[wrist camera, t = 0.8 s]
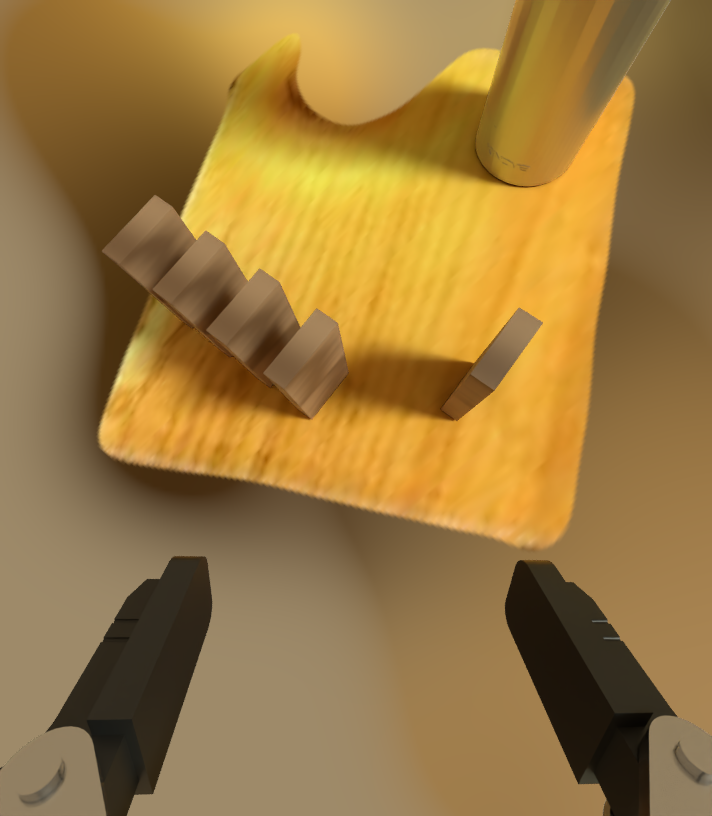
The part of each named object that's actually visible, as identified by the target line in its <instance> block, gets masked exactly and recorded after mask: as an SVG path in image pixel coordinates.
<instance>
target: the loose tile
mask: <svg viewBox="0 0 712 816" xmlns="http://www.w3.org/2000/svg"><path fill="white" fill-rule="evenodd" d="M542 324H543V322H541V321H540V320H538V319H536V318H535V317H533V316H532V315H530V314H529V313H527V312H525V311H524V310H522V309H521V308H518V310H517V311H516V312H515V313H514V315H513V316H512V317H511V318H510V319H509V321H508V322H507V323H506V324H505V326H504V327H503V328H502V329H501V331H500V332H499V333H498V334H497V336H496V337H495V338H494V339H493V341H492V342H491V343H490V344H489V346H488V347H487V348H486V349H485V351H484V352H483V353H482V354H481V355H480V357H479V358H478V359H477V360H476V362H475V363H474V364H473V366H472V367H471V368H470V370H469V371H468V373H467V374H466V375H465V377H464V378H463V379H462V381H461V382H460V383H459V385H458V386H457V387H456V389H455V390H454V392H453V393H452V394H451V396H450V397H449V398H448V400H447V401H446V402H445V404H444V405H443V407H442V408H441V410H442V411H444V412H445V413H446V414H448V415H449V416H451V417H452V418H453V419H455V420H456V421H457V420H459V419H460V418H461V417H462V416H464V415H465V414H466V413H467V412H469V411H470V410H471V409H472V408H474V407H475V406H476V405H477V404H478V403H480V402H481V401H482V400H483V399H485V398H486V397H487V396H488V395H490V394H491V393H492V392H493V391H495V389H496V388H497V386H498V385H499V384H500V382H501V381H502V379H503V378H504V377H505V375H506V374H507V372H508V371H509V370H510V368H511V367H512V365H513V364H514V363H515V361H516V360H517V358H518V357H519V356H520V354H521V353H522V352H523V350H524V349H525V347H526V346H527V345H528V343H529V342H530V340H531V339H532V338H533V336H534V335H535V333H536V332H537V331H538V329H539V328H540V326H541V325H542Z"/></svg>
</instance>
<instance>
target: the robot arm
mask: <svg viewBox="0 0 712 816" xmlns="http://www.w3.org/2000/svg"><path fill="white" fill-rule="evenodd" d="M669 2H670V0H516V1H515V4H514V7H513V11H512V14H511V18H510V21H509V25H508V28H507V31H506V35H505V38H504V42H503V45H502V49H501V52H500V55H499V59H498V62H497V66H496V69H495V73H494V76H493V80H492V83H491V86H490V90H489V93H488V96H487V100H486V103H485V107H484V110H483V114H482V117H481V121H480V124H479V127H478V131H477V135H476V140H475V142H476V151H477V155H478V158H479V159H480V161H481V163H482V165H483V166H484V167H485V168H486V169H487V170H488V171H489V172H490V173H491V174H492V175H494V176H495V177H496V178H498V179H500V180H502V181H504V182H507V183H510V184H514V185H518V186H536V185H541V184H545V183H548V182H551V181H552V180H554V179H556V178H558V177H559V176H561V175H562V174H563V173H564V172H565V171H566V170H567V169H568V167H569V166H570V165H571V163H572V162H573V160H574V158H575V157H576V155H577V153H578V152H579V150H580V148H581V147H582V145H583V144H584V142H585V140H586V139H587V137H588V135H589V134H590V132H591V130H592V129H593V127H594V126H595V124H596V123H597V121H598V119H599V118H600V116H601V114H602V113H603V111H604V109H605V108H606V106H607V104H608V103H609V101H610V99H611V98H612V96H613V94H614V93H615V91H616V90H617V88H618V86H619V85H620V83H621V81H622V80H623V78H624V76H625V75H626V73H627V71H628V70H629V68H630V66H631V65H632V63H633V61H634V60H635V58H636V56H637V55H638V53H639V52H640V50H641V48H642V47H643V45H644V43H645V42H646V40H647V38H648V37H649V35H650V33H651V32H652V30H653V28H654V27H655V25H656V24H657V22H658V20H659V19H660V17H661V15H662V13H663V12H664V10H665V9H666V7H667V5H668V4H669ZM211 612H212V595H211V587H210V580H209V571H208V563H207V559H206V557H195V556H194V557H193V556H190V557H188V556H186V557H185V556H175V557H173V558H172V559H171V560H170V561H169V563H168V565H167V567H166V569H165V571H164V573H163V575H162V577H161V578H160V579H147V580H146V581H144V582H143V583H142V584H141V585H140V586H139V587H138V588H137V589H136V590H135V591H134V592H133V593H132V594H130V596H128V597H127V599H126V600H125V602H124V604H123V606H122V608H121V609H120V611H119V612H118V614H117V616H116V617H115V621H114V623H112V624H111V626H110V628H109V629H108V631H107V633H106V634H105V636H104V640H103V642H101V643H100V645H99V647H98V648H97V650H96V652H95V653H94V655H93V656H92V658H91V660H90V662H89V663H88V665H87V667H86V669H85V670H84V672H83V674H82V675H81V677H80V679H79V680H78V682H77V684H76V685H75V687H74V689H73V690H72V692H71V694H70V696H69V697H68V699H67V701H66V702H65V704H64V706H63V707H62V709H61V711H60V713H59V714H58V716H57V718H56V719H55V721H54V722H53V724H52V725H51V726H50V727H49V729H48V730H47V731H46V732H45V733H44V734H42V735H40V736H38V737H36V738H35V739H33V740H32V741H30V742H29V743H28V744H26V745H25V746H24V747H22V748H21V749H20V750H19V751H18V752H17V753H16V754H15V755H13V756H12V757H11V758H10V760H9V761H8V762H7V763H6V764H5V765H4V766H3V767H1V768H0V816H127V813H128V810H129V808H130V805H131V802H132V800H133V797H134V795H138V794H153V792H154V790H155V787H156V784H157V780H158V777H159V774H160V771H161V768H162V765H163V762H164V759H165V756H166V753H167V750H168V747H169V744H170V741H171V738H172V735H173V732H174V729H175V726H176V723H177V720H178V717H179V714H180V711H181V708H182V705H183V702H184V699H185V696H186V693H187V690H188V687H189V684H190V681H191V678H192V675H193V672H194V669H195V666H196V663H197V660H198V657H199V654H200V651H201V648H202V645H203V642H204V639H205V636H206V633H207V630H208V627H209V623H210V619H211ZM505 615H506V620H507V624H508V627H509V629H510V631H511V634H512V636H513V638H514V641H515V643H516V645H517V647H518V650H519V652H520V654H521V656H522V659H523V661H524V663H525V665H526V668H527V670H528V672H529V674H530V676H531V679H532V681H533V683H534V686H535V688H536V690H537V692H538V695H539V697H540V699H541V701H542V703H543V706H544V708H545V710H546V712H547V715H548V717H549V719H550V721H551V724H552V726H553V728H554V731H555V733H556V735H557V737H558V740H559V742H560V744H561V746H562V748H563V751H564V753H565V755H566V757H567V760H568V762H569V764H570V766H571V769H572V771H573V773H574V775H575V778H576V780H577V782H578V784H600V786H601V788H602V791H603V793H604V794H605V797H606V801H605V804H604V809H603V816H712V736H711V735H709V734H708V733H706V732H705V731H704V730H702V729H701V728H699V727H698V726H696V725H694V724H693V723H691V722H689V721H686V720H684V719H681V718H678V717H677V716H676V714H675V713H674V712H673V710H672V709H671V708H670V706H669V705H668V704H667V702H666V701H665V699H664V698H663V697H662V695H661V694H660V693H659V691H658V690H657V688H656V687H655V686H654V684H653V683H652V681H651V680H650V678H649V677H648V676H647V674H646V673H645V671H644V670H643V669H642V667H641V666H640V664H639V663H638V662H637V660H636V659H635V658H634V656H633V655H632V653H631V652H630V650H629V649H628V648H627V646H626V645H625V644H624V642H623V641H620V638H619V635H618V634H617V632H616V631H615V630H614V628H613V627H612V625H611V624H608V623H607V618H606V617H605V616H604V614H603V613H602V611H601V610H600V609H599V607H598V606H597V604H596V603H595V602H594V600H593V599H592V598H591V597H589V596H588V595H587V594H586V593H585V592H584V591H582V590H581V589H580V588H579V587H577V585H576V584H574V583H572V582H565V580H564V579H563V577H562V576H561V574H560V573H559V571H558V570H557V568H556V567H555V566H554V564H552V562H550V561H545V560H544V561H543V560H542V561H541V560H537V561H536V560H520V561H518V562H517V564H516V566H515V570H514V573H513V577H512V581H511V584H510V587H509V591H508V594H507V598H506V602H505Z"/></svg>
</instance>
